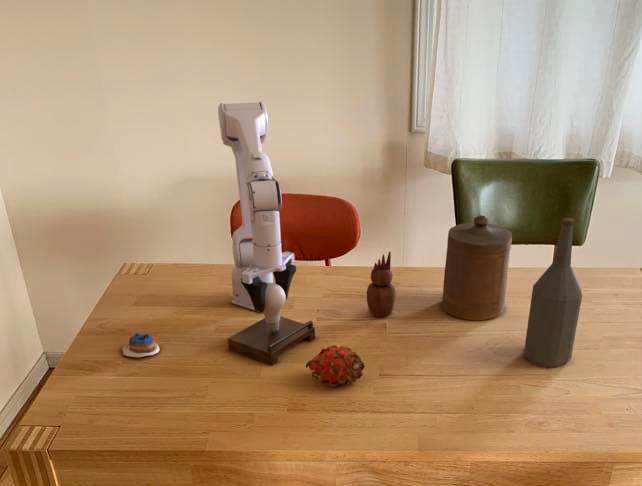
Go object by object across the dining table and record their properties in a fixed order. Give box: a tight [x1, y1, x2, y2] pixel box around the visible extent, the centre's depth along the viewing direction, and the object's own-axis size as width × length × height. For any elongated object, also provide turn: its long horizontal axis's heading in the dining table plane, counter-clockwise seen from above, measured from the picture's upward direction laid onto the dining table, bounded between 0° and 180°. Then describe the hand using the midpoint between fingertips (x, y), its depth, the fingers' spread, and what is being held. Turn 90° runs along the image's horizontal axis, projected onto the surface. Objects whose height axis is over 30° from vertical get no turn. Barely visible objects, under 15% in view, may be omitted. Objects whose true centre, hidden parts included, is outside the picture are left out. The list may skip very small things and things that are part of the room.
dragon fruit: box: [305, 345, 365, 388], centre depth 159 cm, size 8×8×12 cm
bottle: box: [524, 217, 583, 368], centre depth 162 cm, size 10×10×30 cm
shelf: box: [227, 315, 316, 366], centre depth 172 cm, size 12×15×4 cm
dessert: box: [121, 332, 160, 358], centre depth 169 cm, size 8×7×6 cm
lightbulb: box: [262, 282, 287, 332], centre depth 169 cm, size 6×6×11 cm
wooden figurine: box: [366, 251, 397, 318], centre depth 182 cm, size 7×6×15 cm
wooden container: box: [441, 214, 513, 321], centre depth 184 cm, size 15×15×22 cm
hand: (271, 304), depth 168 cm, fingers open, 7 cm apart
